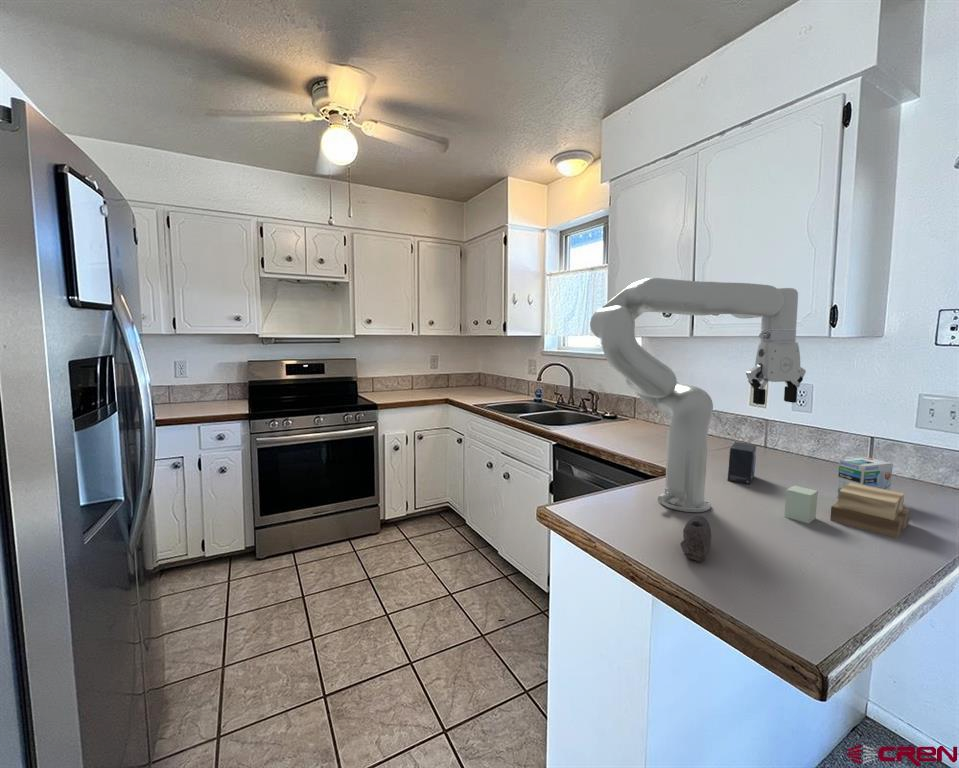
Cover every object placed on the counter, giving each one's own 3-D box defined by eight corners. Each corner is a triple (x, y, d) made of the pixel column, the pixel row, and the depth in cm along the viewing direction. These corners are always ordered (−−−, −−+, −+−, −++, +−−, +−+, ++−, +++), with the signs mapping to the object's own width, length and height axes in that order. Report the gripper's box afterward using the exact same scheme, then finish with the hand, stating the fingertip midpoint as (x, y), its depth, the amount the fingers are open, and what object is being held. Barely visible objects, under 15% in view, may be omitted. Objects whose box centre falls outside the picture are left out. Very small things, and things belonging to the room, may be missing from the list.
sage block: (808, 523, 105) (810, 495, 105) (784, 516, 109) (786, 489, 109) (815, 518, 108) (817, 490, 108) (791, 512, 112) (793, 485, 112)
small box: (751, 485, 133) (753, 451, 132) (726, 480, 137) (728, 447, 136) (755, 476, 141) (757, 444, 140) (732, 472, 145) (734, 441, 144)
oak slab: (893, 520, 99) (895, 503, 99) (837, 506, 107) (839, 490, 106) (902, 509, 105) (904, 493, 105) (849, 497, 113) (850, 482, 112)
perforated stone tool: (688, 534, 100) (690, 504, 99) (714, 540, 97) (716, 509, 96) (677, 562, 87) (678, 529, 87) (706, 570, 85) (708, 535, 84)
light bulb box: (861, 506, 116) (865, 466, 115) (834, 497, 123) (838, 459, 122) (890, 501, 119) (894, 462, 118) (863, 493, 126) (866, 456, 125)
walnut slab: (896, 540, 98) (898, 523, 98) (830, 522, 107) (831, 506, 107) (908, 526, 105) (909, 509, 105) (844, 510, 115) (845, 495, 114)
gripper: (761, 338, 109) (758, 406, 110) (819, 336, 112) (815, 403, 114) (737, 338, 116) (735, 402, 118) (792, 336, 119) (789, 399, 121)
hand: (774, 402), depth 116 cm, fingers open, 9 cm apart
